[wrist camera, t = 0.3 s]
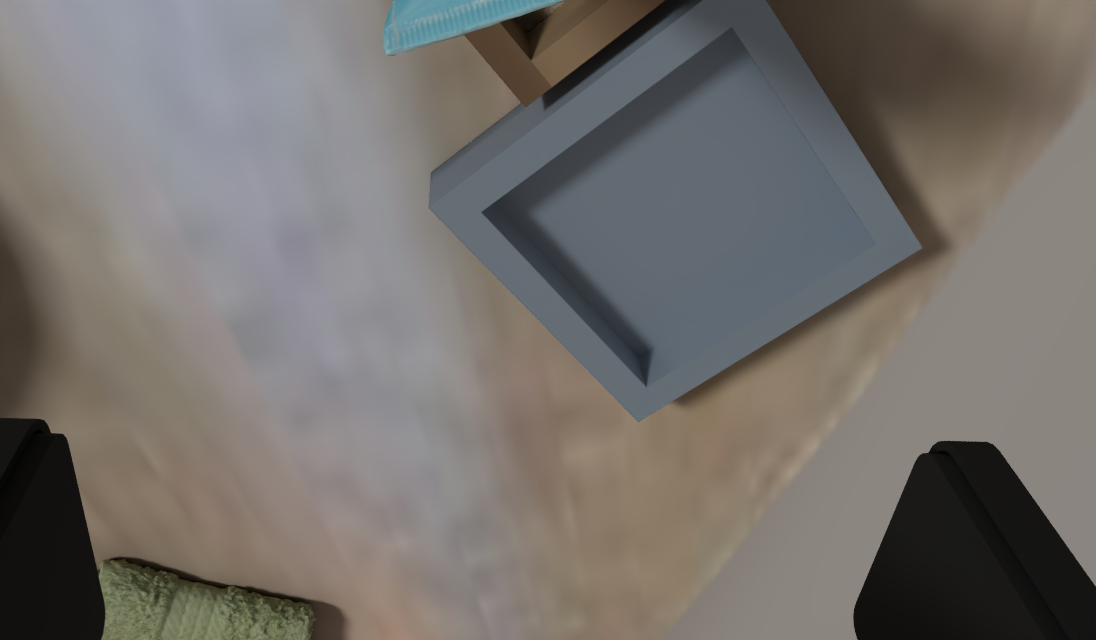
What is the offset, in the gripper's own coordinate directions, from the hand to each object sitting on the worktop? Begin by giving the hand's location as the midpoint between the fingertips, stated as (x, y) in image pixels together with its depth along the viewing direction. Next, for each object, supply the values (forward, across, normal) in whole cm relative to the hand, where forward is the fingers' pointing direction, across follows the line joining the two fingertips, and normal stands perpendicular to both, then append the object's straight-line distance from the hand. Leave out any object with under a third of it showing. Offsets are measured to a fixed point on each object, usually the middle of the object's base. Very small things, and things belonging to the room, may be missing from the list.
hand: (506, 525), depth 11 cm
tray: (+28, -9, +9) cm, 30 cm away
